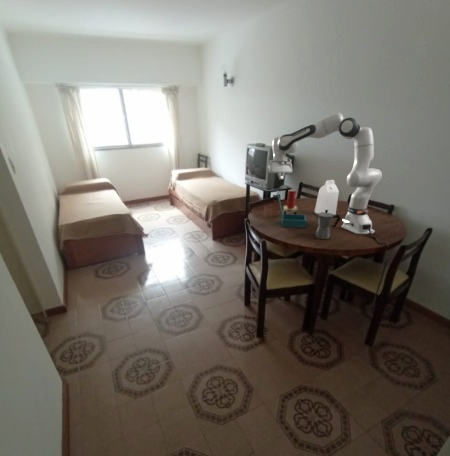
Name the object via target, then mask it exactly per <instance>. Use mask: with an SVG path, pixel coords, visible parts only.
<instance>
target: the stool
mask: <svg viewBox="0 0 450 456" xmlns="http://www.w3.org/2000/svg"><path fill="white" fill-rule="evenodd" d="M298 212H299V211H298V205H294V208H293V209H288V208H287V205H283V214H287V213H293V214H298Z"/></svg>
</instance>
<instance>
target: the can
mask: <svg viewBox="0 0 450 456" xmlns="http://www.w3.org/2000/svg"><path fill="white" fill-rule="evenodd" d="M287 191H288V192H287V201H286V206H287V208H288V209H293V208H294V206H296V205H295V204H296V195H297V190H296V189H289V190H287Z"/></svg>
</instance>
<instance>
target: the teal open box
mask: <svg viewBox="0 0 450 456" xmlns="http://www.w3.org/2000/svg"><path fill="white" fill-rule="evenodd" d="M306 217H307V216H306V214H299V213H297V214H294V213H293V214H292V213H286V214H284V213H283V219H282V218H281V227H286V228H287V227H288V228H306V227H307V218H306Z"/></svg>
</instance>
